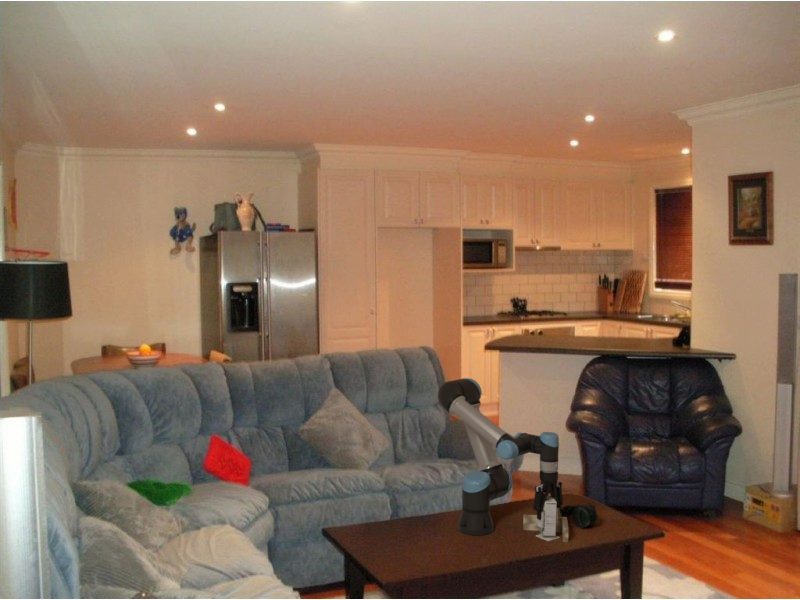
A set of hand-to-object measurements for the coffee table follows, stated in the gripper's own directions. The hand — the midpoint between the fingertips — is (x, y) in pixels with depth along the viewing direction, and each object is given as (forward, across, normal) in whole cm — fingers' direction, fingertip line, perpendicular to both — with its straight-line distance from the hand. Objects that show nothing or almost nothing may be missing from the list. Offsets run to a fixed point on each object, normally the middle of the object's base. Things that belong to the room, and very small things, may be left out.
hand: (547, 524), depth 308 cm
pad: (+5, 0, 0) cm, 5 cm away
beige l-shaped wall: (+5, +1, +2) cm, 6 cm away
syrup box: (+4, 0, 0) cm, 4 cm away
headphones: (+6, +24, +4) cm, 25 cm away
